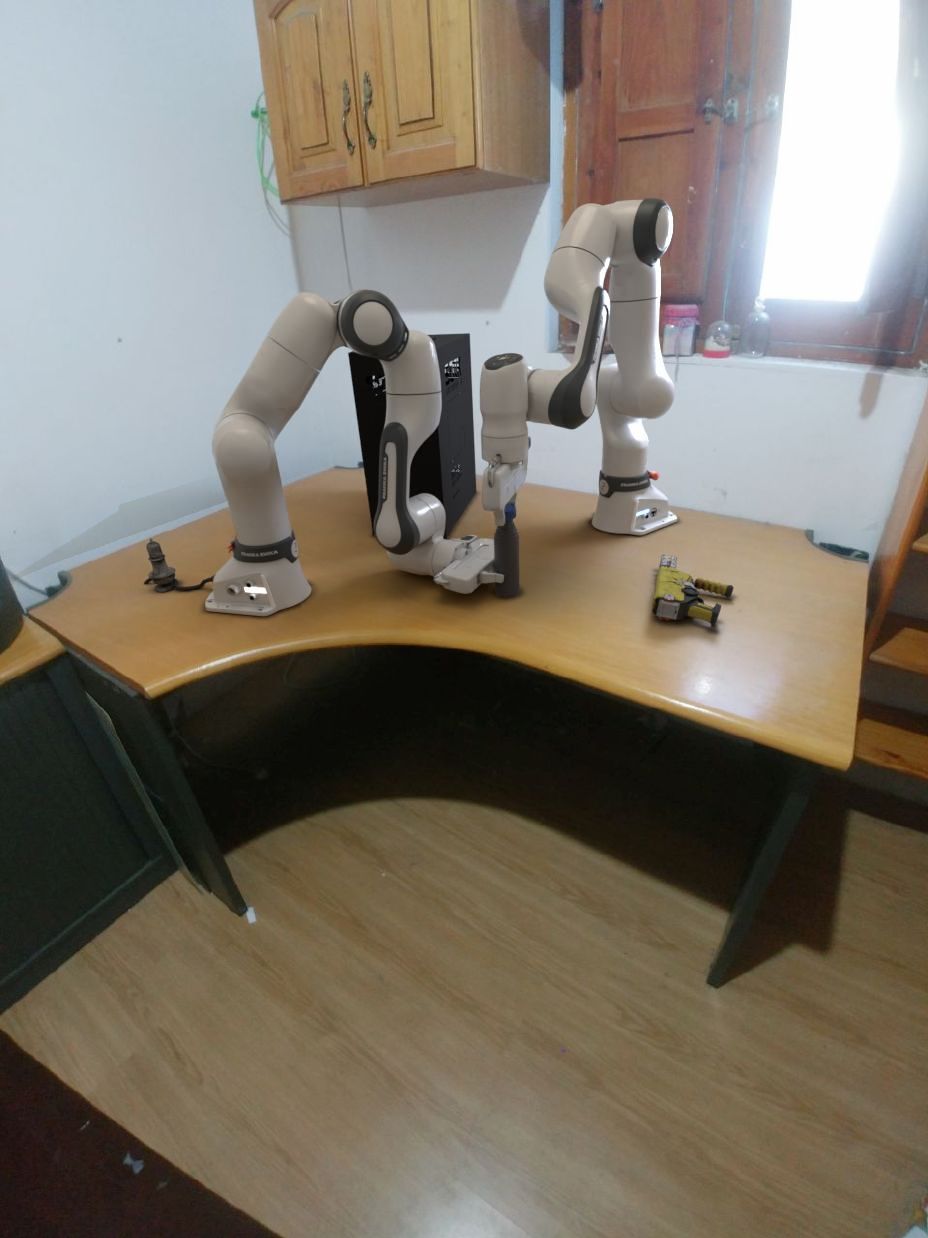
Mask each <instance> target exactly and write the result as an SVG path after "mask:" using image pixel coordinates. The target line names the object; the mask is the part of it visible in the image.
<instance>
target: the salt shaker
mask: <svg viewBox="0 0 928 1238" xmlns="http://www.w3.org/2000/svg"><path fill="white" fill-rule="evenodd" d="M145 549H146V551H147V554H148V558H147V560H148V561H149V562H150V564H151V567H152V571H150V572H149V573H148V574H147V576H148V578H151V580H152V581H151V582H152V583H153V584H155V586H154V587H153V590H154V592H159V593H163V592H169V591H172V590H174V589H175V588H174V581H173V580H174V578H175V579H176V571H177V570H176V568H175V567H172V566H168V565H169V564H167V561H166V554H164V552H163V550H162V547H161V544H160V543H159V542H158V541H154V540H153V539H152V538H149V542H148V543H146V545H145ZM178 586H180V585H179V582H178Z"/></svg>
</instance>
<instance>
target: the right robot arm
mask: <svg viewBox="0 0 928 1238" xmlns="http://www.w3.org/2000/svg"><path fill="white" fill-rule="evenodd" d="M673 219H674V218H673V212H672V210H671V208H670V206H669V204H668V203H667V201H665V200H664V199H661V198H657V197H655V198H654V197H646V198H644V199H625V200H617V201H615V202H613V203H608V204H604V205H602V204H599V203H585V204H582V205H580V206H578V207H577V208H576V209H575V210H574V211H573V212H572V213H571V215H570V217H569V218H568V220H567V221H566V223H565V225H564V227H563V229H562V231H561V233H560V235H559V236H558V238H557V241H556V243H555V246H554V248H553V251H552V253H551V256H550V257H549V258H550V259H549V261H548V265H547V267H546V270H545V273H544V278H543V290H544V293H545V297H546V299H547V301H548V303H549V304H550V305H551V307H552V308H553V309H554V310H555V311H556V312H557V313H559V314H560V315H561V316H562V317H564V318H566V319H568V320H570V321H572V322H575V324H578V325H579V326H578V327H579V328H578V333H577V339H576V344H575V348H574V352H573V353H574V354H573V359H572V363H571V364H570V366H568V367H567V368H564V369H563V370H559V369H544V368H536V367H535V366H532V365H530V364H528V363H527V362H526V359H525V356H523V355H522V354H519V353H515V352H507V353H501V354H496V355H493V356H491V357H489V358H487V360H485V361H484V362H483V364H482V367H481V372H480V378H479V411H480V414H481V419H482V425H481V430H480V444H481V445H480V446H481V447H480V448H481V459H482V460H483V461H484V462H487V463H488V466H487V467H486V468H485V469H484V470H483V473H482V478H481V479H482V480H481V481H482V482H481V506H482V509H483V511H485V512H492V513H493V517H494V525H495V526H496V527H497V526H503V525H504V524H505V522H506V515H505V514H504V509H505V505H512V506H515V507H516V508H517V499H518V495H519V494H518V493H519V489H520V488H521V486H522V485H523V484H524V483H525V481H526V478H527V474H528V462H529V450H530V449H531V447H532V437H531V436H530V435H529V427H528V424H527V422H531V423H533V424H534V423H535V424H540V425H541V424H542V425H551V426H555V427H559V428H563V429H568V430H571V431H572V430H576V429H578V428H579V427H581V426H582V425H584V424H585V423H586V422H587V421H588V420H589V419H591V417H592V416H593V414H594V412H595V409H597V413H598V418H599V424H600V428H601V437H602V447H601V448H602V449H601V450H602V451H601V452H602V453H601V468H600V470H599V474H598V492H599V493H598V498H597V502H596V507H595V511H594V514H593V517H592V520H591V525H592V526H593V527H594V528H595V529H597V530H599V531H601V532H605V533H611V534H623V535H625V534H626V535H632V536H633V535H634V536H645V535H646V534H650V533H652V532H654V531H657V530H660V529H662V528H665V527H668V526H670V525H672V524H675V523H677V522H678V516H677V515H676V514H675V513H674V512H672V511H670V503H669V502H670V501H669V498H668V497H667V495H665V494H664V493H663V492H661V491H660V490H659V489H658V488H656V487H655V486H654V485H652V483H651V480H653V481H658V479H659V478H660V473H659V472H657V471H654V470H651V471H649V470H648V469H647V466H648V458H649V457H648V456H649V447H650V441H649V436H648V435H647V433H646V431H645V427H644V425H643V422H642V420H645V421H646V420H647V421H648V420H656V419H659V418H662V417H663V416H664V415H666V414H667V412H668V411H670V409H671V407H672V405H673V403H674V401H675V395H676V389H675V388H676V387H675V385H674V382H673V380H672V379H671V378H670V376H669V374H668V373H667V370H666V367H665V364H664V360H663V355H662V350H661V345H660V344H661V343H660V334H659V333H660V331H659V329H660V328H659V326H660V307H661V306H660V305H661V304H660V303H661V265H660V264H661V263H660V259H661V258H662V257H663V256H664V255H665V253H666V252H667V249H668V248H669V246H670V243H671V240H672V237H673V231H674V220H673ZM609 268H611V269H610V275H609V282H608V283H609V284H608V292H607V290H606V289H604V281H605V278H606V276H607V273H608V270H609ZM606 338H607V341H608V344H609V345H610V346H611V348H612V350H613V351H612V352H613V353H614V356H615V361H616V362H615V363H609V364H605V365H603V366H601V365H602V360H603V359H602V358H603V355H604V348H605V345H606Z"/></svg>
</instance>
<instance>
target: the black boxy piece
mask: <svg viewBox="0 0 928 1238" xmlns="http://www.w3.org/2000/svg"><path fill="white" fill-rule="evenodd" d="M427 335H428V336H429V337H430V338H431V339H432V340H433V342H434V345H435V348H436V353H437V358H438V364H439V371H440V380H441V399H442V408H441V416H440V421H439V424H438V426H437V428H436V429H435V431H434V432H433V433H432V434H431V435H430V436H429V437H428V438H427V439H426V440H425V441H424V442H423V443H422V445H421V446H420V447H419V448H418V450H417V451H416V453H415V455H414V457H413V459H412V462H411V466H410V483H409V498H411V497H414V496H416V495H419V494H421V493H429V494H431V495H433V496H435V497H436V498H438V499H439V500H440V501H441V503H442V504H443V506H444V508H445V512H446V526H445V533H444V537H443V539H446V540H447V538H448V537H449V535H450V533H451V532H452V530H453V529H454V528H455V526H456V524H457V523H458V521H459V520H460V518H461V517H462V515H463V514H464V512H465V511H466V509H467V507H468V506H469V505H470V503H471V502H472V500H473V498H474V497H475V495H476V494H477V471H476V470H477V469H476V448H475V446H476V445H475V426H474V424H475V423H474V422H475V421H474V401H473V377H472V355H471V352H472V351H471V334H470V333H469V332H467V333H440V334H439V333H437V334H427ZM347 357H348V362H349V370H350V377H351V378H350V379H351V385H352V392H353V399H354V407H355V415H356V420H357V429H358V437H359V442H360V450H361V451H360V452H361V458H362V465H363V473H364V482H365V487H366V495H367V502H368V509H369V518H370V524H371V525H370V526H371V532H372V536H375V533H374V518H375V515H376V511H377V507H378V496H379V455H380V442H381V436H382V433H383V430H384V426H385V420H386V407H387V400H386V379H385V374H384V369H383V366H382V364H381V362H380V361H379V359H376V358H373V357H368V356H365V355H361V354H358V353H356V352H354V351H352V350H351V351H348V352H347ZM450 364H451V365H450ZM375 537H376V536H375Z"/></svg>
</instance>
